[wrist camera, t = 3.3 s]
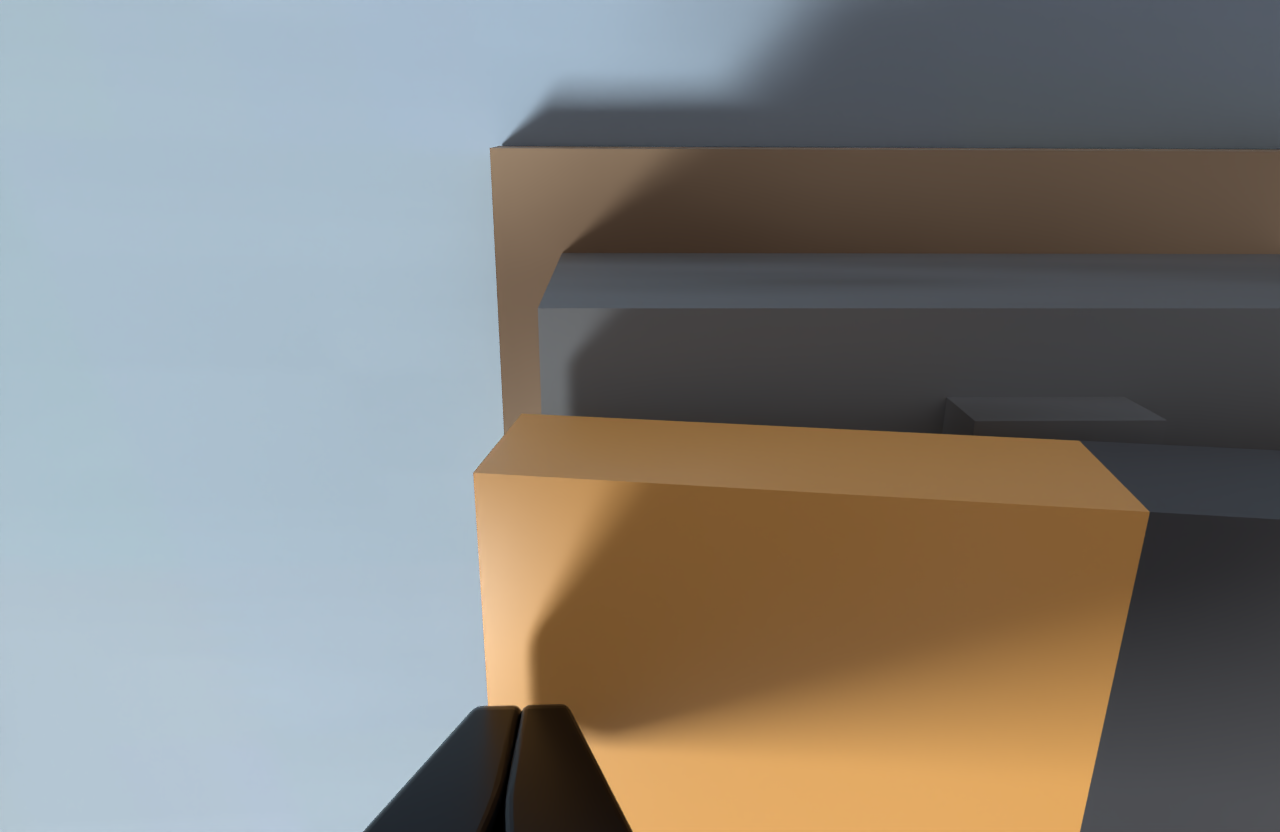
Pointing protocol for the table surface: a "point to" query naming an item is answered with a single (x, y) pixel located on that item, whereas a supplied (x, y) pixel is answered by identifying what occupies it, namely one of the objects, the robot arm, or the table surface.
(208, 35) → the table surface
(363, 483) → the table surface
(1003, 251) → the switch board
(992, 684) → the breaker rocker
